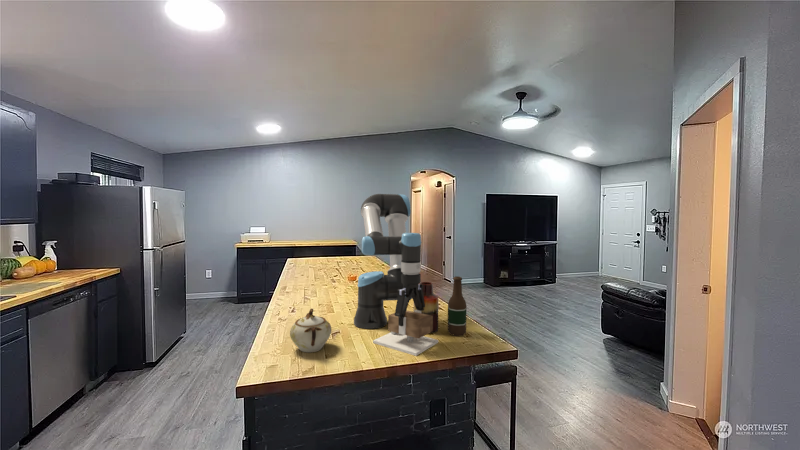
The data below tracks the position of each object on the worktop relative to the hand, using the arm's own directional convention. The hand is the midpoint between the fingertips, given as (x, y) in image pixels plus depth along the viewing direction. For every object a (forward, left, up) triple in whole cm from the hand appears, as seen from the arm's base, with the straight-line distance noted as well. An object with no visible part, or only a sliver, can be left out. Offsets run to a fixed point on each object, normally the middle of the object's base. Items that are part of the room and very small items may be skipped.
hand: (410, 330), depth 133 cm
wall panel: (-2, 0, -5) cm, 6 cm away
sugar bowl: (-27, -26, -6) cm, 38 cm away
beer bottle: (+9, +22, -6) cm, 25 cm away
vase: (-4, +18, -6) cm, 19 cm away
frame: (0, 0, 0) cm, 0 cm away
